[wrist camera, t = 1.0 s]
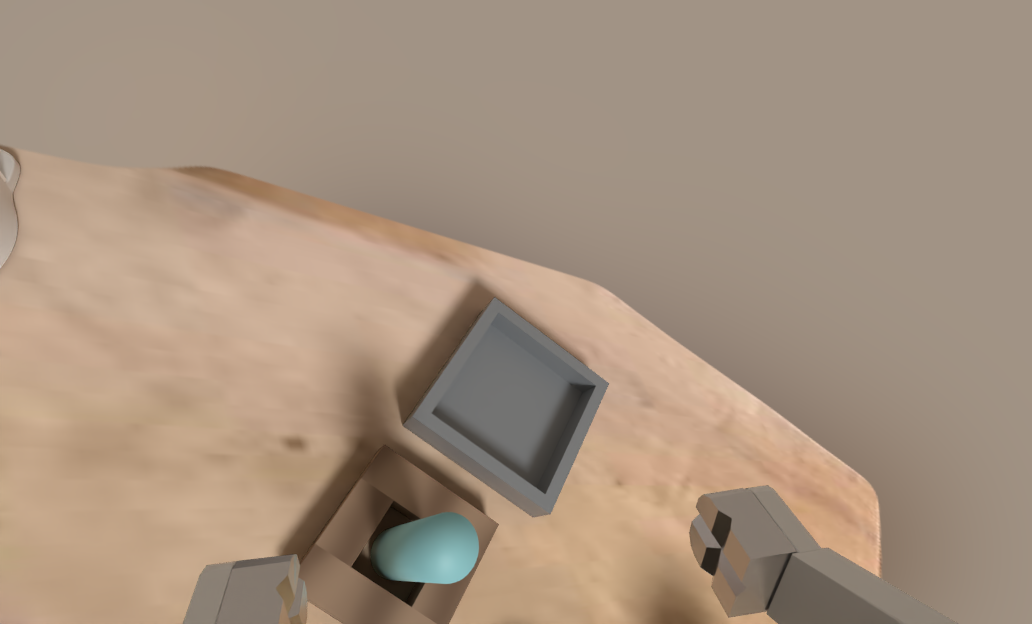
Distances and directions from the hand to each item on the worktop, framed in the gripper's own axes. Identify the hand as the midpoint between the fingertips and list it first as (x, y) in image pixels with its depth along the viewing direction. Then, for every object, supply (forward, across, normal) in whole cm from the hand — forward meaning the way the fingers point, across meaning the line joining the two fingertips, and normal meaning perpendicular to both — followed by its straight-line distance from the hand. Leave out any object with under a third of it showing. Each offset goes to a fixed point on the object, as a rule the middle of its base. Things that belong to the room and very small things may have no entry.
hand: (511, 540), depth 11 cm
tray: (+34, -7, +25) cm, 43 cm away
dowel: (+23, +5, +30) cm, 38 cm away
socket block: (+23, +5, +30) cm, 38 cm away
